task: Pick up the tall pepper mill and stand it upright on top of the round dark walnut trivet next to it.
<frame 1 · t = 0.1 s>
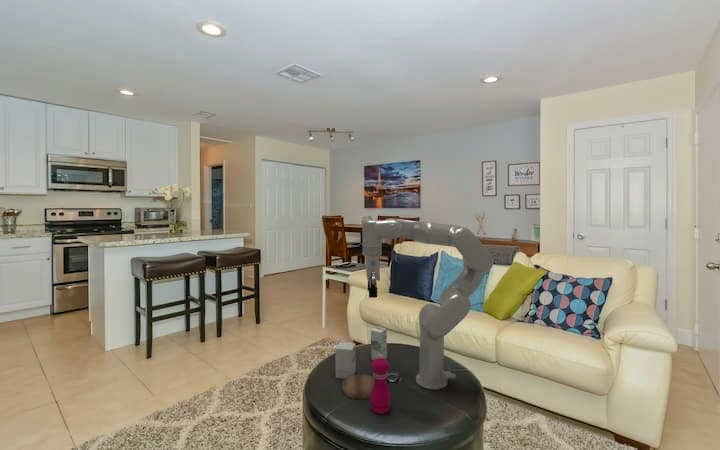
hand: (372, 293, 142), 37 cm above the table, tool pointing down, fingers open, 9 cm apart
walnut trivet: (360, 389, 140), on the table
supplement box: (345, 374, 152), on the table
pepper mill: (380, 409, 127), on the table
syrup box: (378, 359, 166), on the table
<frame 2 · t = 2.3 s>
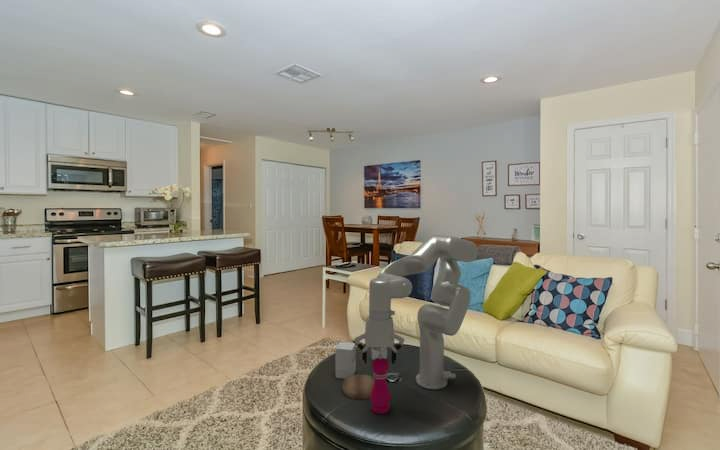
hand: (379, 362, 125), 17 cm above the table, tool pointing down, fingers open, 9 cm apart
nothing on the table moved.
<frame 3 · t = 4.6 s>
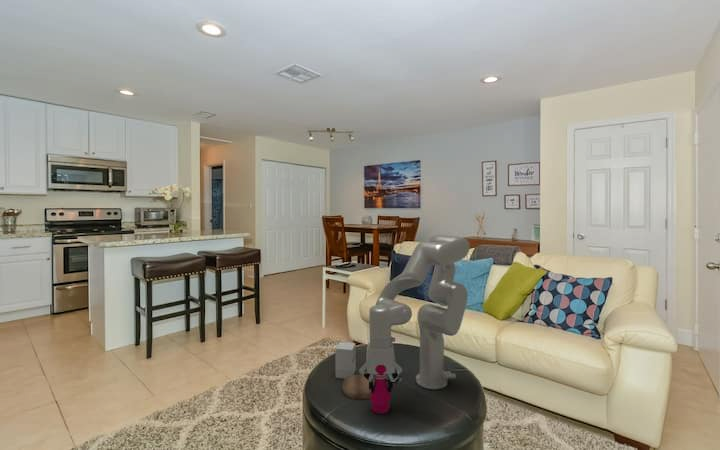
hand: (380, 390, 126), 7 cm above the table, tool pointing down, fingers open, 5 cm apart
pepper mill: (380, 409, 127), on the table, touching gripper
everything else where it was.
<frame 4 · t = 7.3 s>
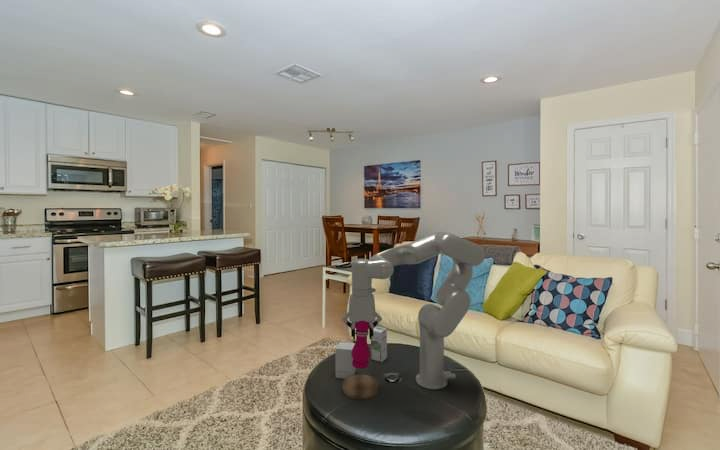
hand: (362, 337, 136), 21 cm above the table, tool pointing down, fingers closed on pepper mill, 5 cm apart
pepper mill: (360, 365, 137), point 11 cm above the table, touching gripper
everything else where it was.
when the fingers open (13 cm above the table, at t = 9.4 s): pepper mill stays where it is, resting on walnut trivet.
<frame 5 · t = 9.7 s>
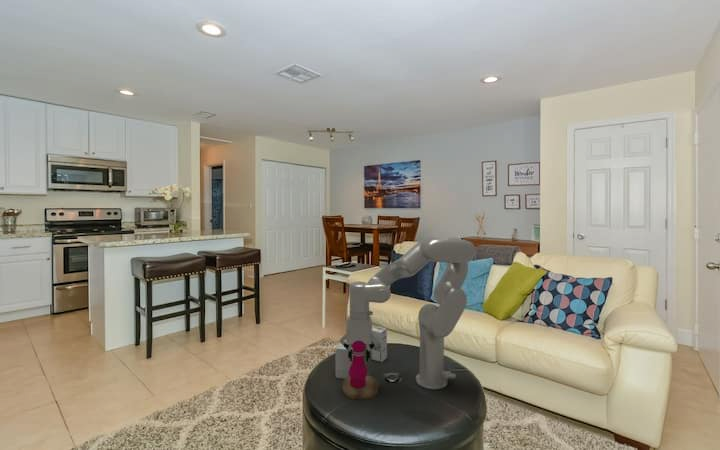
hand: (359, 359, 139), 12 cm above the table, tool pointing down, fingers open, 5 cm apart
pepper mill: (357, 384, 139), point 2 cm above the table, touching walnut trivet
everything else where it was.
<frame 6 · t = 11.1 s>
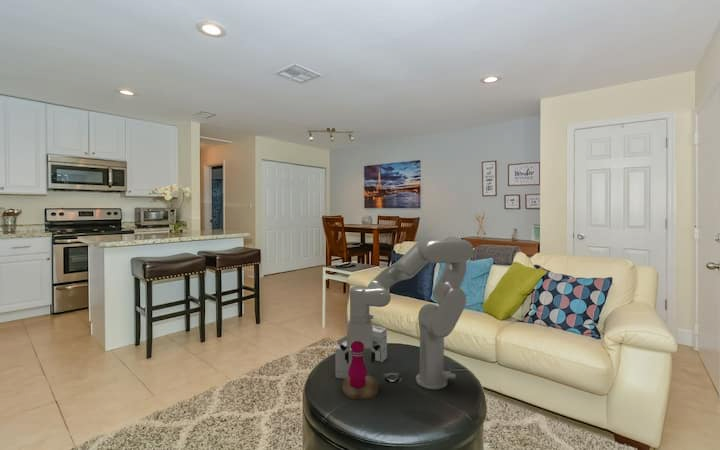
hand: (360, 361, 139), 11 cm above the table, tool pointing down, fingers open, 9 cm apart
nothing on the table moved.
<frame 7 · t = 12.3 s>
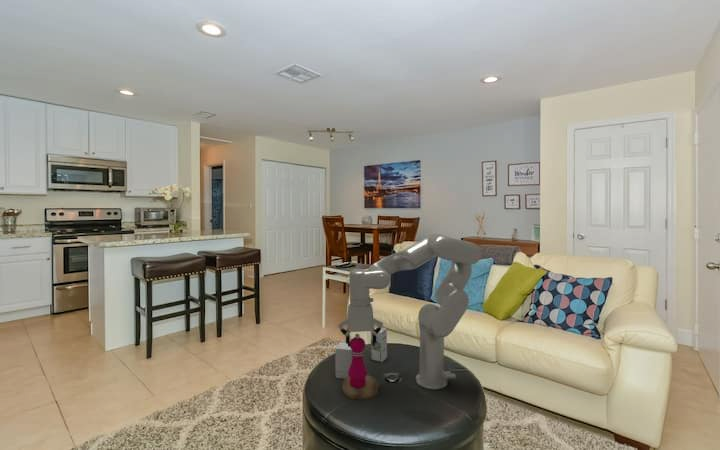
hand: (361, 344, 138), 18 cm above the table, tool pointing down, fingers open, 9 cm apart
pepper mill: (357, 384, 139), point 2 cm above the table, touching gripper, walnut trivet
everything else where it was.
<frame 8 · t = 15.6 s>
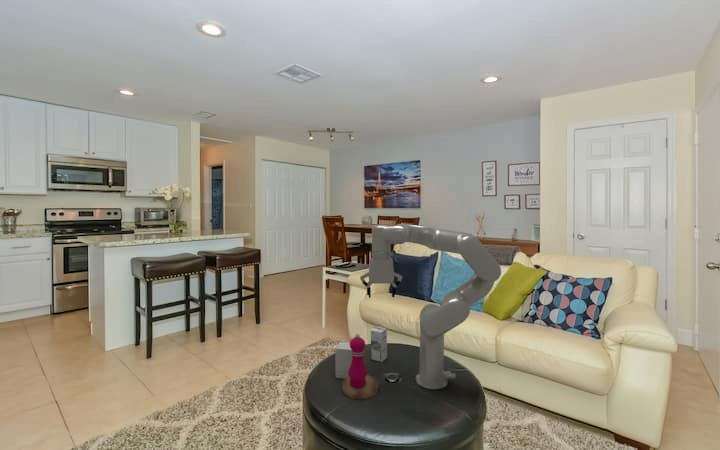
hand: (381, 296, 146), 34 cm above the table, tool pointing down, fingers open, 9 cm apart
pepper mill: (357, 384, 139), point 2 cm above the table, touching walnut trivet
everything else where it was.
at the end: pepper mill inside the target area on the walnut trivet (1.1 cm from its centre), point 2.3 cm above the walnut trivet's base; pepper mill tilted 0°; the gripper is holding nothing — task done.
